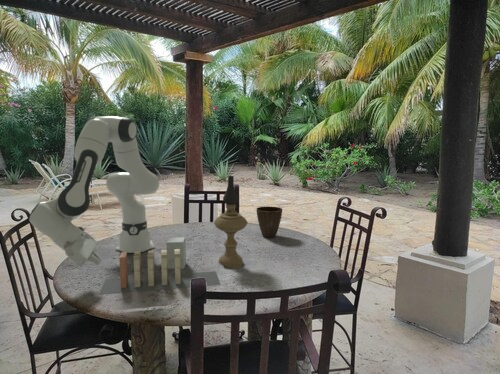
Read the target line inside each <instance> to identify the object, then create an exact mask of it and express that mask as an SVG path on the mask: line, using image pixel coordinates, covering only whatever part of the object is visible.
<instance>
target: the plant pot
mask: <svg viewBox="0 0 500 374" xmlns="http://www.w3.org/2000/svg"><path fill="white" fill-rule="evenodd" d="M255 209H256V217H257V221H258V226H259V229H260V230H259V231H260V232H261V236H262V237H263V238H269V239H271V238H275V237H276V236H277V233H278V231H279V228H280V224H281V221H282V215H283V208H282V207H277V206H260V207H256V208H255Z"/></svg>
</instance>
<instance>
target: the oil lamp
mask: <svg viewBox="0 0 500 374" xmlns="http://www.w3.org/2000/svg"><path fill="white" fill-rule="evenodd" d="M234 177H235V176H234V175H228V176H227V187H226V190H225V192H224V195H223V197H222V199H223V202H224V203H225V208H226V210H225V212H223V213H221V214H220V215H219V216H218V217H217V218H216V219H215V220H214V222H213V224H214V226H215V227H216V229H219V230H220V231H222V232H224V233H225V234H226V235H227V239H225V242H224V243H223V245H224V247H225V251H224V253H223V254H221V256H220V257H219V258H218V264H220V265H221V266H223V268H227V269H236V268H239V267H241V266H243V265H244V261H243V257H242V256H241V255H240V254H239V253H238V252H237V250H236V249H237V246H238V241H236V238H235V235H236V233H237V232H239V231H242V230H243V229H244V228H246V226H247V225H248V221H247V219H246V218H245V217H244V216H243V215H242V214H241V213H240V212H237V211H236V207H237V205H236V204H237V203H238V201H239V199H240V198H239V195H238V194H237V192H236V188H235V184H234Z"/></svg>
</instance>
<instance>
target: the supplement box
mask: <svg viewBox="0 0 500 374" xmlns="http://www.w3.org/2000/svg"><path fill="white" fill-rule="evenodd" d="M165 245H166V250H167V270H173V269H174V270H175V252H174V249H180V270H181V269H185V267H186V265H187V256H186V255H187V251H186V237H169V238H168V240H167V241H166V243H165Z"/></svg>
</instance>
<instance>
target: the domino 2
mask: <svg viewBox="0 0 500 374" xmlns="http://www.w3.org/2000/svg"><path fill="white" fill-rule="evenodd" d="M141 259H142V257H141V252H140V251H136V252H135V253H133V275H134V276H133V277H134V281H135V287H140V286H141V277H142V260H141Z"/></svg>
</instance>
